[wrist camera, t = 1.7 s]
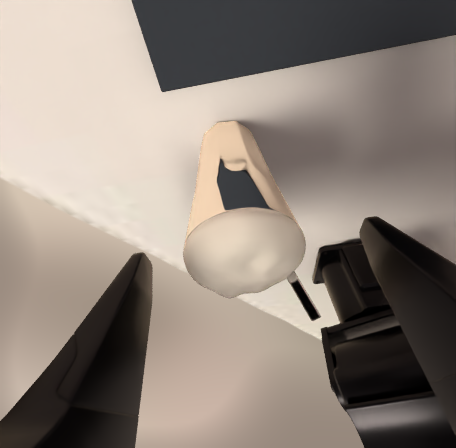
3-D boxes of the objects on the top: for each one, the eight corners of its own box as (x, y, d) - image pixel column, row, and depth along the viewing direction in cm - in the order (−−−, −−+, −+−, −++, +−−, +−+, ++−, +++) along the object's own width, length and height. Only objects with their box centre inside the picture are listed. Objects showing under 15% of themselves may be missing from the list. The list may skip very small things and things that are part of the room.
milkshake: (246, 191, 17) (276, 338, 10) (177, 158, 15) (157, 321, 8) (290, 141, 14) (370, 294, 8) (214, 90, 12) (233, 247, 5)
